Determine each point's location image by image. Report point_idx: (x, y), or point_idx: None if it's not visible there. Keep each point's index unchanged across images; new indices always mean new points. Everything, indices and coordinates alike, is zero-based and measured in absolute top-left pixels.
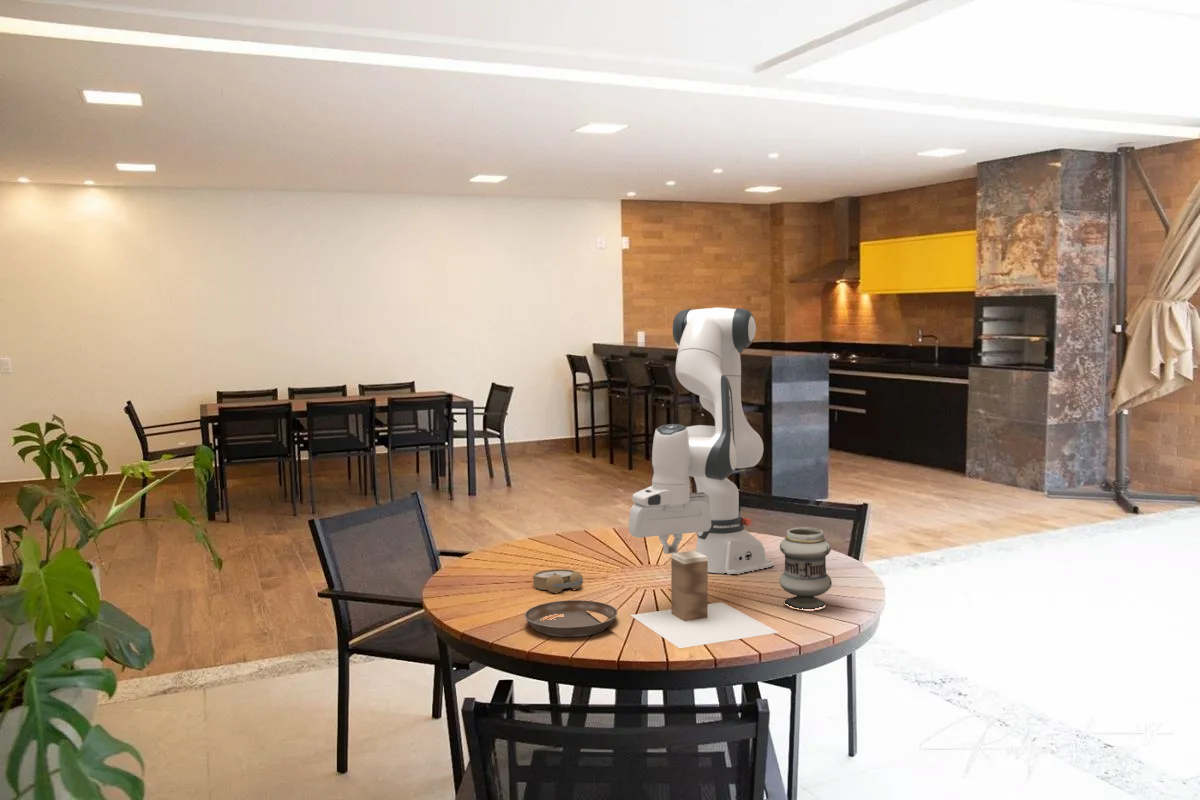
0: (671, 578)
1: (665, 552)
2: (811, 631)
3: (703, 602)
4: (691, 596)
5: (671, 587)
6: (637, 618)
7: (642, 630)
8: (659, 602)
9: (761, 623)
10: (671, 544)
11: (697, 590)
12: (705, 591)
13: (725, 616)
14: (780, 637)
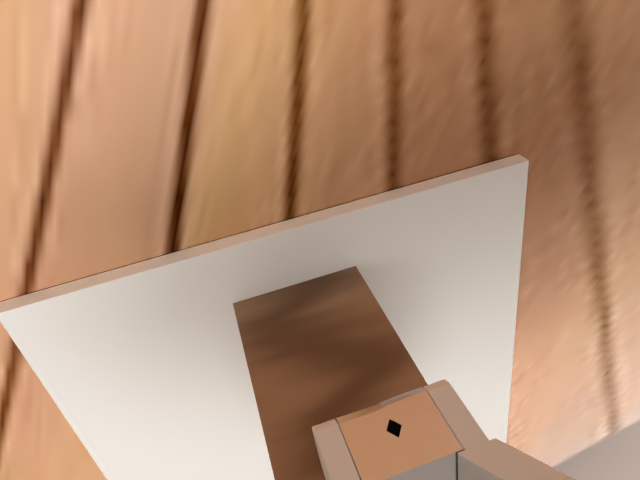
0: (269, 453)
1: (321, 461)
2: (593, 414)
3: None
4: None
5: (257, 406)
6: (39, 360)
7: (63, 434)
8: (223, 27)
9: (507, 400)
10: (449, 454)
11: None
12: None
13: (439, 340)
14: None
